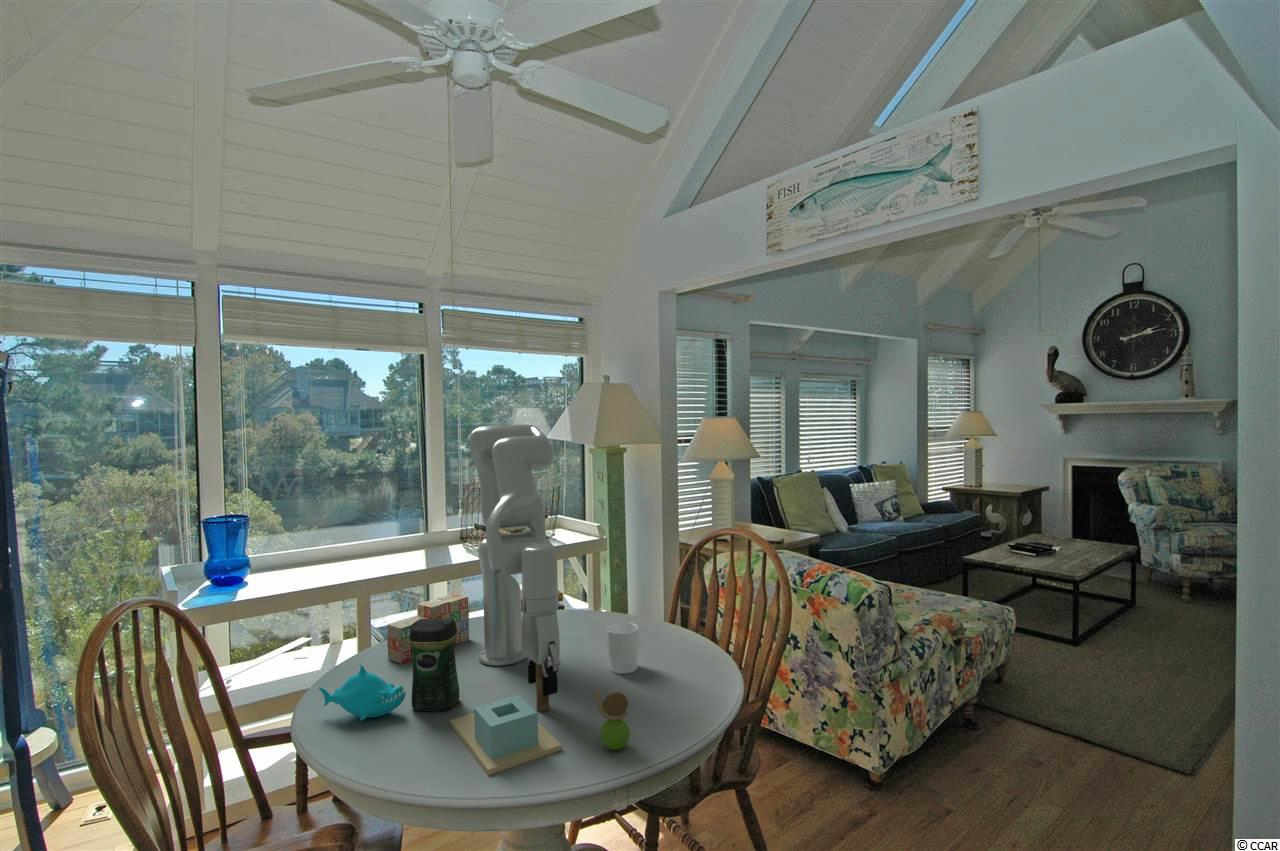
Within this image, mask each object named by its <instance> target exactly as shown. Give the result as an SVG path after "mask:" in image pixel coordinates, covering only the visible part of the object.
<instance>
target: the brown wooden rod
mask: <svg viewBox="0 0 1280 851" xmlns="http://www.w3.org/2000/svg"><path fill="white" fill-rule="evenodd" d="M546 660H549V657H547V658H546ZM546 660H545V661H546ZM546 665H547V669H548V668H549V663H547V664H546ZM542 676H544V674H543V669H542V664H537V663H536V682H535V683H536V684H535V687H536V689H535V690H536V692H535V693H536V695H535V696H536V711H537V712H538V713H546V712H548V711H550V695H548V696H543V694H542Z"/></svg>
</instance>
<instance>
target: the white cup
mask: <svg viewBox="0 0 1280 851" xmlns="http://www.w3.org/2000/svg"><path fill="white" fill-rule="evenodd" d="M639 627H640V626H639V625H638V624H636V623H632V622H617V623H612V624H609V625H608V626H606V637H607V638H606V642H607V653H608V660H609V661H608V662H609V669H610V672H612V673H613V674H619V675H620V674H621V675H626V674H631V673H634V672H636V671H637V670H638V662H639V661H638V657H639V641H640V640H639V633H640V632H639V631H640V630H639V629H640V628H639Z"/></svg>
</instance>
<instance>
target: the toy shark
mask: <svg viewBox="0 0 1280 851" xmlns="http://www.w3.org/2000/svg"><path fill="white" fill-rule="evenodd" d="M359 667H360V669H359V672H358V673H356V674H354V675H352V676H350V677H348V678H347V680H346V681H345V682H344V683H343V684H342V686H340V687H339V688H335V691H334V693H333V694H331V693H329V692H328V691H327V690H326V689H325V688H323V687H322V686H321V687H319V688H318V690H319V691H320V693H322V695H323V698H324V707H326V706H327V705H328V704H329V703H334V706H335V705H339V706H340V707H341V708H343V709H344V710H345V711H346V712H347V713H349V714H351V715H353V716H356V717H358V718H359V721H361V722H362V721H363V720H366V718H367V719H368V718H369V719H370V718H378V717H382V716H385V715H387V714H389V713H391V712H393V711H394V710H396V709H397V708H398V707H400V705H402V702H403V701H404V699H405V697H406V695H407V692H406V691H405V687H404V686H403V685H398V686H397V687H395V685H394V683H391V682H390V683H387V682H385V680H383V678H381V677H380V676H378V675H377V674H375V673H372V672H367V670H366V669H365V667H364V666H363V665H362V664H360V666H359Z"/></svg>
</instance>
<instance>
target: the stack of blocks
mask: <svg viewBox="0 0 1280 851" xmlns="http://www.w3.org/2000/svg"><path fill="white" fill-rule="evenodd" d="M416 606H417V609H416V610H417V612H416V613H417V615H413V616H411V617H408V618H405V619H404V618H403V619H400V620H398V621H394V622H391V623H387V625H386V626H387V631H386V632H387V633H386V634H387V637H386V640H387V642H386V643H387V644H386V645H387V659H388V660H390V661H393V662H396V663H398V664H404V663H408V662H409V661H413V653H412V649H411V646H410V643H409V638H410V629H411V625H412V624H413V623H414V622H416V621H417V620H419V619H451V618H453V619H454V620H455V623H456V628H457V639H456V642H455V645H457V644H460V643H463V642H465V641H469V639H470V629H469V628H470V622H469V620H470V613H469V612H470V608H469V596H466V595H462V594H457V593H453V594H449V595H443V596H439V597H437V598H433V599H431V600H427V601H423V602H420V603H417V604H416Z"/></svg>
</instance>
